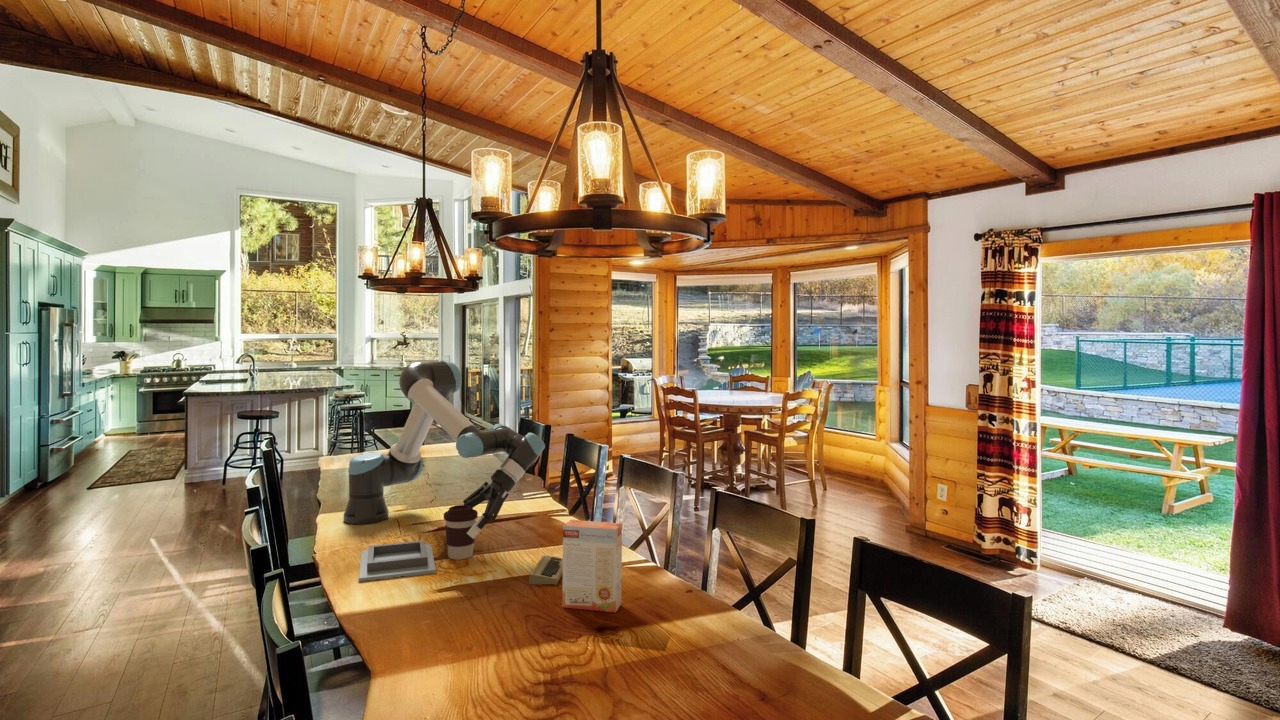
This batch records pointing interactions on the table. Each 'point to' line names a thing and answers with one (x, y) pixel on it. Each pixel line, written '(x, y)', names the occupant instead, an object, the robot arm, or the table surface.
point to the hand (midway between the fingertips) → (461, 530)
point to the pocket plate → (396, 560)
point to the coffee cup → (459, 531)
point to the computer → (547, 571)
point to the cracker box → (592, 565)
